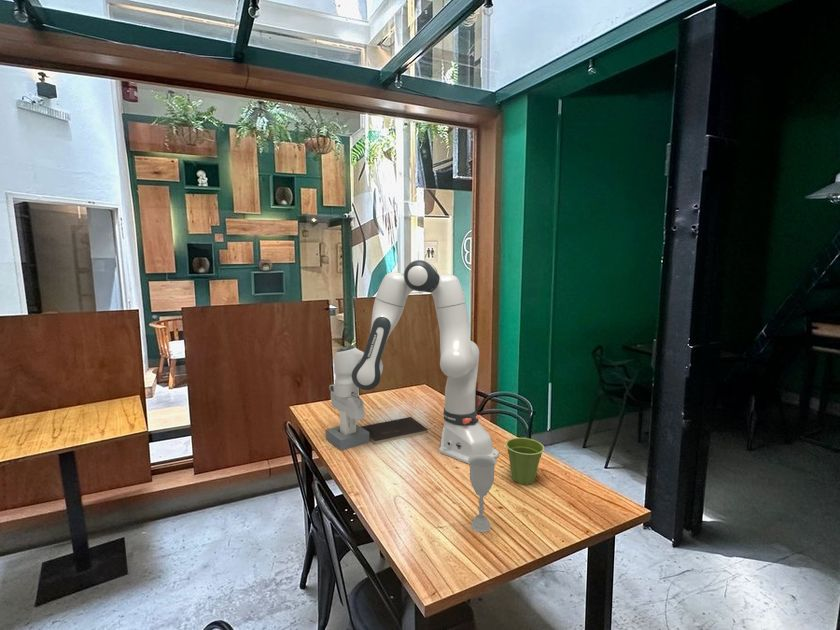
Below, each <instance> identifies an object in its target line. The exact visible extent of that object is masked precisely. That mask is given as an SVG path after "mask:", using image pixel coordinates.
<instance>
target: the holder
mask: <svg viewBox="0 0 840 630" xmlns="http://www.w3.org/2000/svg"><path fill="white" fill-rule="evenodd" d="M360 426H361V425H358V424H357V423H356V432H355V433H351V434H348V435H343V434H341V433H340V425H339V426H335V427H332V428H327V429H325V440H326V441H327V442H329V444H331V445H332V446H334V447H335V448H336V447H337V450H339V449H340V450H342V451H345V450H348V449H351V448H355V447H358V446H361V445H366V444H368V443H370V439H369V432H368V431H367V430H365V429H363V428H362V427H360ZM344 449H345V450H344ZM340 450H339V451H340Z"/></svg>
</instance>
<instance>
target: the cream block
mask: <svg viewBox="0 0 840 630" xmlns="http://www.w3.org/2000/svg"><path fill="white" fill-rule="evenodd" d="M338 415H339V426H340V433H341V434H343V435H348V434H351V433H355V432H356V424H357V421H355V427H354V428H350V427H349V422H350V418H349V417H348V416H347V415H346V412H344V411H342V410H341V409H340V410H339V413H338Z"/></svg>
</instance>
